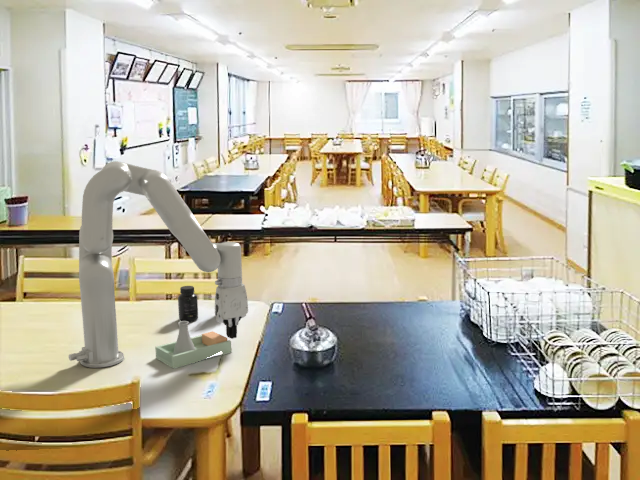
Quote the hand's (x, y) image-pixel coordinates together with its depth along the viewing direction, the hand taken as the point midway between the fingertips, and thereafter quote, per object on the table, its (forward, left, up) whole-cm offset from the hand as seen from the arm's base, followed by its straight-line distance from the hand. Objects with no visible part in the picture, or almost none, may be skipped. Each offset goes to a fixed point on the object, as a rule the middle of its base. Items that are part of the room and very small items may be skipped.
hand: (231, 337), depth 218 cm
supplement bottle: (+3, +32, -3) cm, 33 cm away
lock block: (-6, 0, -1) cm, 6 cm away
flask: (-17, 0, -2) cm, 17 cm away
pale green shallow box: (-14, 0, -3) cm, 14 cm away
